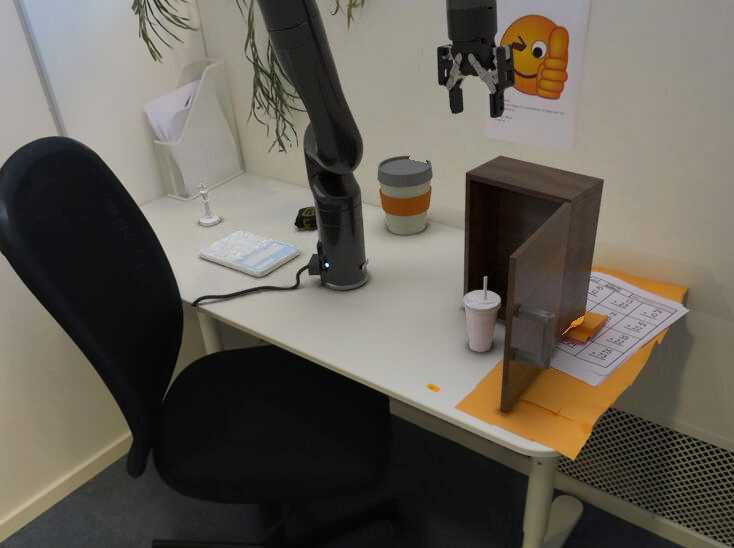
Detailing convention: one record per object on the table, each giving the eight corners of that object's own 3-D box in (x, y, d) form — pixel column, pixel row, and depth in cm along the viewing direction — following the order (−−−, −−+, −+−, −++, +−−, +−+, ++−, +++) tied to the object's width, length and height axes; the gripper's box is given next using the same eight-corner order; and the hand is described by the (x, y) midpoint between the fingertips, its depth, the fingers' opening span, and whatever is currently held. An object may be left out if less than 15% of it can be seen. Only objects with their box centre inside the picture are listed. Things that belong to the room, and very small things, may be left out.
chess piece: (203, 217, 175) (195, 179, 169) (222, 217, 174) (214, 179, 169) (197, 225, 171) (188, 187, 165) (216, 225, 170) (208, 187, 165)
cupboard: (554, 345, 120) (571, 199, 104) (463, 308, 132) (465, 172, 116) (584, 321, 125) (604, 179, 110) (493, 288, 137) (500, 155, 121)
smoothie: (487, 360, 118) (490, 289, 109) (455, 349, 121) (455, 279, 113) (505, 342, 122) (509, 272, 113) (473, 332, 125) (475, 263, 117)
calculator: (240, 235, 165) (238, 227, 164) (302, 254, 155) (301, 246, 154) (198, 257, 157) (196, 249, 156) (260, 279, 146) (259, 271, 145)
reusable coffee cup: (424, 240, 156) (423, 177, 148) (372, 235, 160) (368, 173, 151) (439, 217, 166) (439, 156, 157) (390, 213, 170) (387, 153, 161)
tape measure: (300, 219, 170) (298, 205, 168) (327, 219, 169) (325, 204, 167) (295, 231, 165) (293, 217, 163) (323, 231, 164) (321, 216, 162)
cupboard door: (584, 356, 117) (606, 209, 101) (537, 424, 104) (554, 267, 88) (549, 346, 120) (565, 201, 104) (500, 411, 107) (509, 256, 91)
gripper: (420, 9, 106) (429, 117, 114) (489, 5, 96) (494, 124, 104) (454, 1, 110) (461, 106, 118) (525, -3, 100) (526, 112, 108)
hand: (476, 114), depth 111 cm, fingers open, 8 cm apart
